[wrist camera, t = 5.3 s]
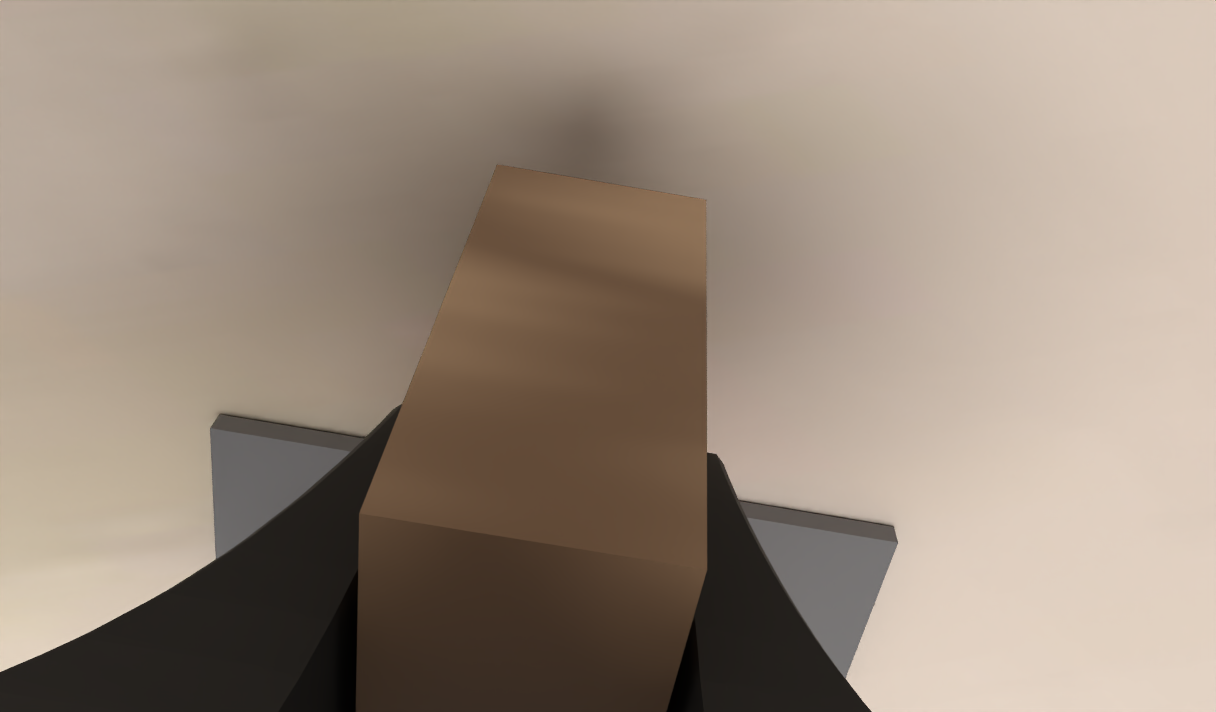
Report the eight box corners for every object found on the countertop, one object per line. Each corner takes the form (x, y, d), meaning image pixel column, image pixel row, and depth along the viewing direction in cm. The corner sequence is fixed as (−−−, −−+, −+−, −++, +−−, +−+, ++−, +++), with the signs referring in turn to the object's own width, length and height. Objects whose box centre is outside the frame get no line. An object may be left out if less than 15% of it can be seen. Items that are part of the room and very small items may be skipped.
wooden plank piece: (446, 697, 18) (348, 1096, 13) (496, 164, 12) (359, 512, 7) (589, 719, 18) (547, 1126, 13) (706, 199, 12) (707, 569, 7)
